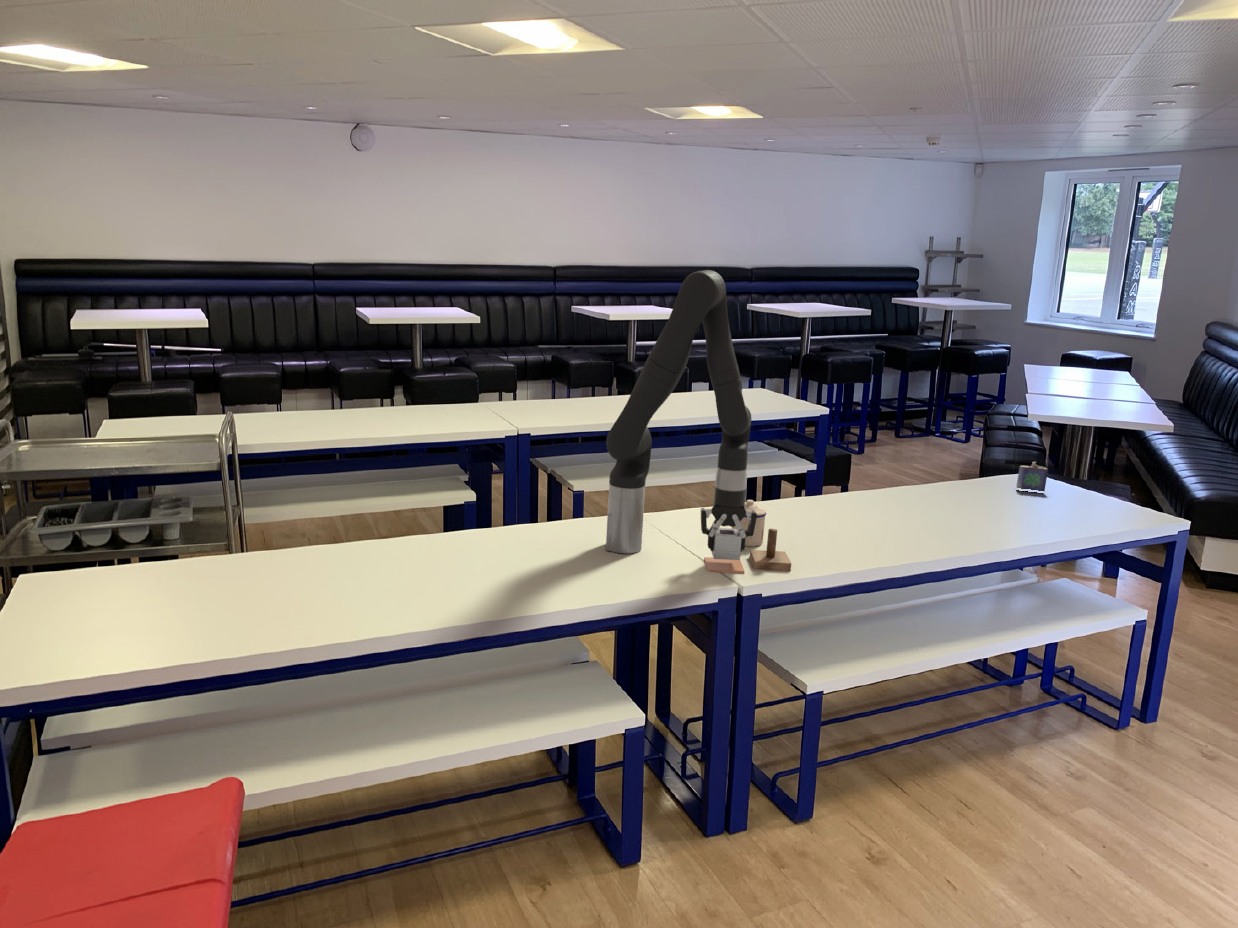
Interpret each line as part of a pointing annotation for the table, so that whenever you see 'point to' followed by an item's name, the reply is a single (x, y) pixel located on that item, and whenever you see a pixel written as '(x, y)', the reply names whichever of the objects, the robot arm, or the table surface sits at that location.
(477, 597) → the table surface
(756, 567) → the post block
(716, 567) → the tile
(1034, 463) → the flask
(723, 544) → the grey square nut
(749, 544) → the beige lidded canister
